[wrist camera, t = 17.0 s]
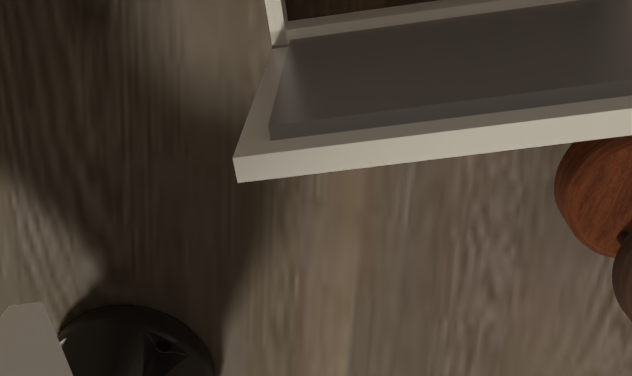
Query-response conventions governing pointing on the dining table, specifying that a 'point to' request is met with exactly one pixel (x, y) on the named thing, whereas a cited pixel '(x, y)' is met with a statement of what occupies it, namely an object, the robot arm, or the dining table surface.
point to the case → (436, 83)
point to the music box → (601, 204)
